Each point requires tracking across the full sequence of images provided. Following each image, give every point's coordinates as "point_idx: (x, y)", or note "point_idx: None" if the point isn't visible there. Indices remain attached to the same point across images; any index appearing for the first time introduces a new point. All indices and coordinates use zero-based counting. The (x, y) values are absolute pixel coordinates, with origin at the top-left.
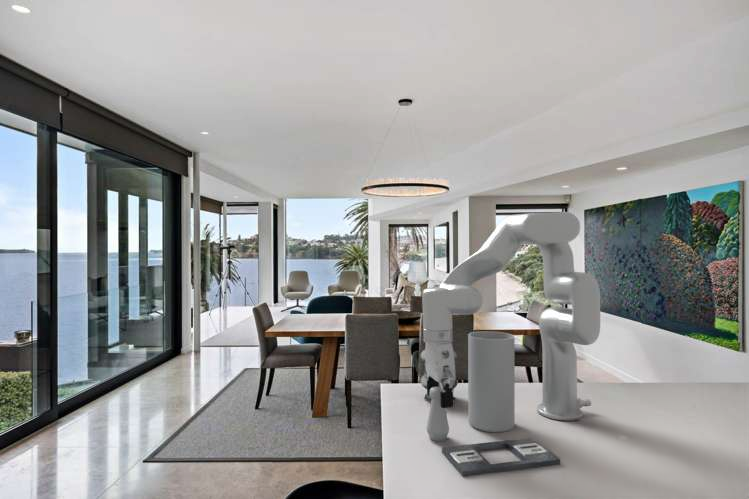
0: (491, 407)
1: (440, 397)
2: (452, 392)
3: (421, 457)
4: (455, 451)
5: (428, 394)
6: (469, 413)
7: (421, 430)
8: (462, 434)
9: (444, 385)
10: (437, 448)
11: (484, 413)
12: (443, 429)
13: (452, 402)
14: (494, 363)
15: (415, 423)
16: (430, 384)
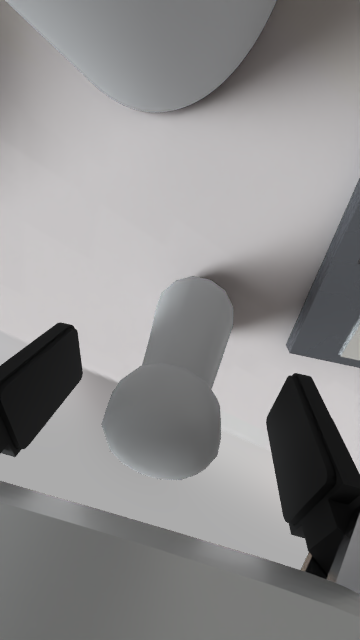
0: None
1: (281, 483)
2: (356, 478)
3: (278, 394)
4: (340, 336)
5: (79, 379)
6: (115, 88)
7: (132, 315)
8: (206, 207)
9: None
10: (257, 340)
11: (236, 8)
12: (231, 321)
13: (315, 398)
14: None
15: (81, 305)
16: (36, 418)
